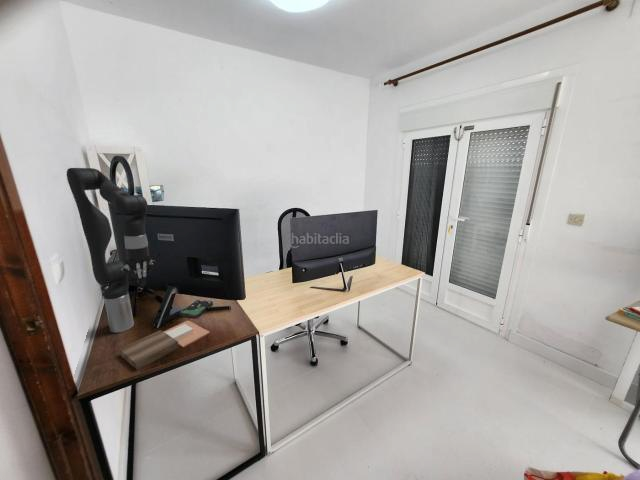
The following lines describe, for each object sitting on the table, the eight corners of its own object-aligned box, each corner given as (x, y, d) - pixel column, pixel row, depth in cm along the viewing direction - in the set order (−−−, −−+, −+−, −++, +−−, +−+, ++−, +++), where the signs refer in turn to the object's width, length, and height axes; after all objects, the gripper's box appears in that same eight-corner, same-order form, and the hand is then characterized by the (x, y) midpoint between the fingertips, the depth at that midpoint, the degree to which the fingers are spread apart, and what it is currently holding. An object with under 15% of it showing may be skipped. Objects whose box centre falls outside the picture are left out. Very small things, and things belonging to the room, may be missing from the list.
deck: (120, 355, 105) (119, 348, 104) (161, 335, 118) (160, 330, 118) (137, 370, 97) (136, 363, 97) (178, 347, 110) (178, 341, 110)
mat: (161, 333, 120) (161, 332, 120) (188, 321, 130) (188, 320, 130) (182, 347, 110) (182, 346, 110) (209, 332, 121) (209, 331, 121)
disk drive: (196, 304, 149) (180, 317, 135) (196, 299, 148) (179, 312, 134) (213, 305, 148) (198, 319, 134) (213, 301, 147) (197, 314, 133)
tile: (165, 337, 116) (165, 332, 116) (185, 328, 123) (184, 323, 123) (173, 343, 112) (173, 338, 112) (193, 333, 120) (192, 328, 119)
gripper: (150, 240, 110) (154, 278, 114) (113, 247, 99) (119, 288, 103) (159, 243, 106) (163, 282, 110) (121, 250, 95) (128, 293, 99)
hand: (142, 285), depth 106 cm, fingers closed
